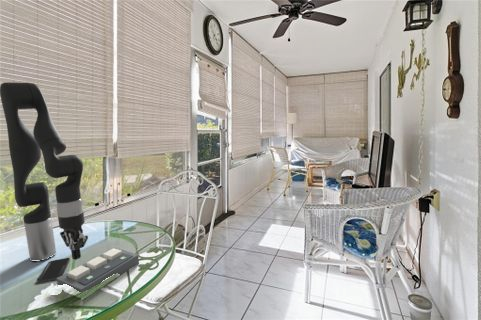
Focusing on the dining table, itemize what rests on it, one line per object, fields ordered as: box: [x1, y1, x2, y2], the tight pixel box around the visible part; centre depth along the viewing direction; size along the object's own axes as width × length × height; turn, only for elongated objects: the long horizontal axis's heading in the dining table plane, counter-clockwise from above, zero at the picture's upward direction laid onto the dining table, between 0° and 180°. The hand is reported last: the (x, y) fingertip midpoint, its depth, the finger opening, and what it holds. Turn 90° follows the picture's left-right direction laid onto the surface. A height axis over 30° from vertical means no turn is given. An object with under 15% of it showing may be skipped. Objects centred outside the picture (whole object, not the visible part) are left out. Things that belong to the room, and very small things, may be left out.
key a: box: [67, 264, 90, 281], centre depth 93 cm, size 5×5×2 cm
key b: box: [85, 255, 107, 270], centre depth 100 cm, size 5×5×2 cm
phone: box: [36, 257, 71, 284], centre depth 103 cm, size 8×1×15 cm
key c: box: [102, 247, 122, 261], centre depth 106 cm, size 5×5×2 cm
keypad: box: [56, 247, 140, 292], centre depth 99 cm, size 14×24×4 cm, turn 154°
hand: (76, 258), depth 92 cm, fingers closed
